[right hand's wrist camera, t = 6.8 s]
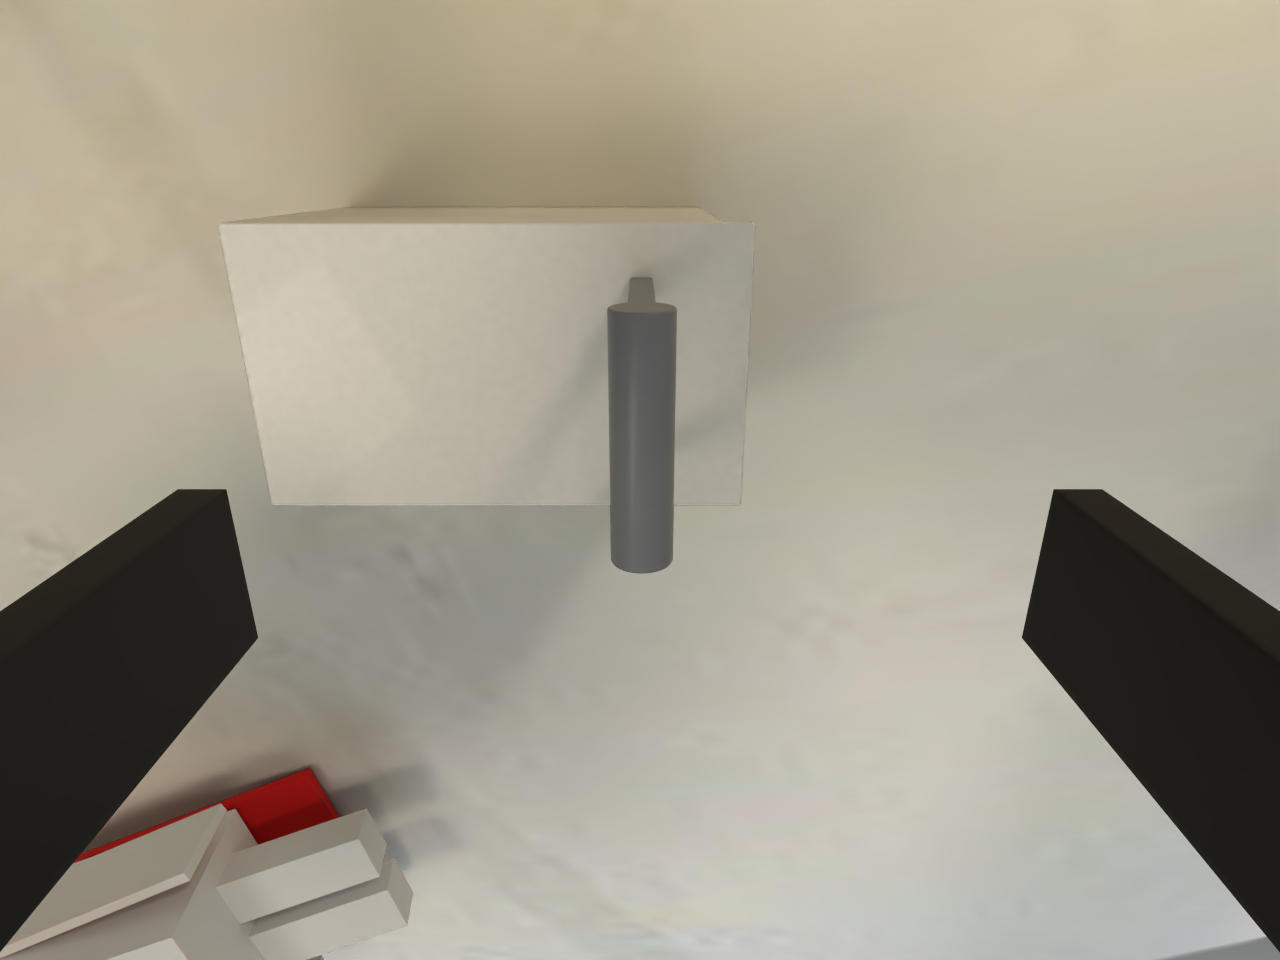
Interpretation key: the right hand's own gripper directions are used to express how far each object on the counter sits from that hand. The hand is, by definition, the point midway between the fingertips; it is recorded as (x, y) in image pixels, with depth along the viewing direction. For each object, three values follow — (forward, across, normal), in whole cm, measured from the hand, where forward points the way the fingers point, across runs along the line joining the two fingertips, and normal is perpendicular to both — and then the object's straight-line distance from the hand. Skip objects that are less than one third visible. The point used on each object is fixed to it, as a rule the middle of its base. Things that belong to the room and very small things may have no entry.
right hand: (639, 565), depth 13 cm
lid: (+14, -5, 0) cm, 14 cm away
